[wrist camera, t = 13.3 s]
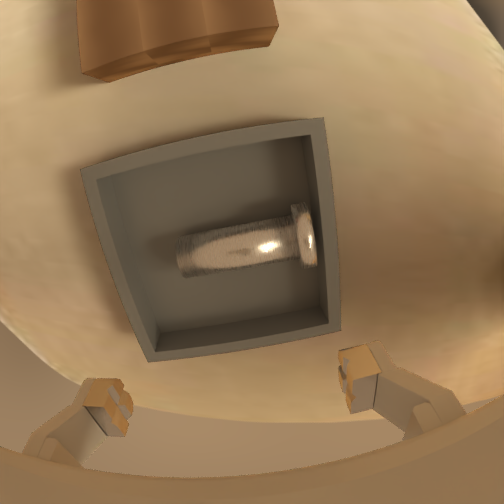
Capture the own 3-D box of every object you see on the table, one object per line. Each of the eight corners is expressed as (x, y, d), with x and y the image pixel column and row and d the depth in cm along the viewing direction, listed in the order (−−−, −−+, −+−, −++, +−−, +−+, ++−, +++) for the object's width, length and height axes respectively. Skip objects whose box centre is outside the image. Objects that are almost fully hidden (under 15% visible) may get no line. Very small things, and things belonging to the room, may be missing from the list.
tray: (309, 119, 21) (323, 117, 18) (329, 307, 27) (341, 330, 24) (99, 163, 21) (80, 169, 18) (155, 337, 27) (147, 362, 24)
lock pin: (182, 220, 23) (301, 197, 22) (196, 273, 25) (310, 253, 24) (165, 236, 19) (310, 209, 18) (184, 299, 20) (319, 276, 20)
